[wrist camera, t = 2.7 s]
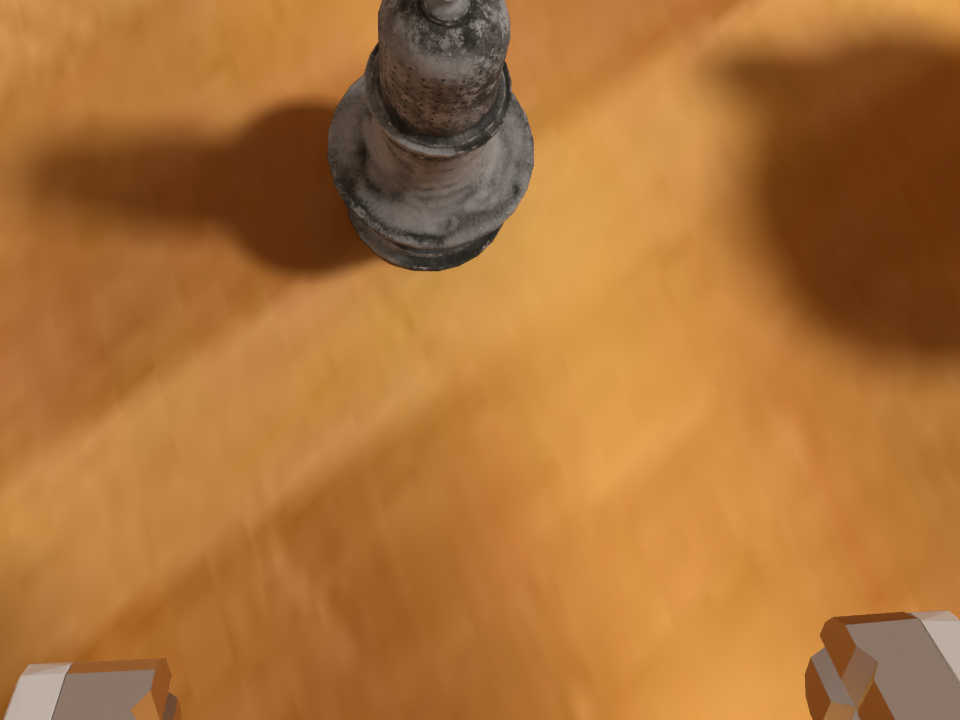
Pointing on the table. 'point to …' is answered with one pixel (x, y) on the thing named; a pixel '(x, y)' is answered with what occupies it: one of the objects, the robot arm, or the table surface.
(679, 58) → the table surface
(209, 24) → the table surface
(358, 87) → the dark grey tapered piece
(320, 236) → the table surface
